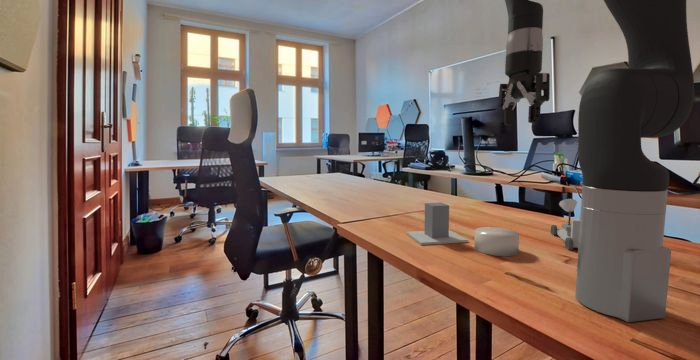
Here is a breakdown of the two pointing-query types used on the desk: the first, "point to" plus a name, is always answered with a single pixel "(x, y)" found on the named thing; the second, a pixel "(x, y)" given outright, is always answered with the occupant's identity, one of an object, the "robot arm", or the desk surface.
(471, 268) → the desk surface
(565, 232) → the toy car
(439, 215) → the cap block
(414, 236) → the rubber mat
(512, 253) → the white round part
